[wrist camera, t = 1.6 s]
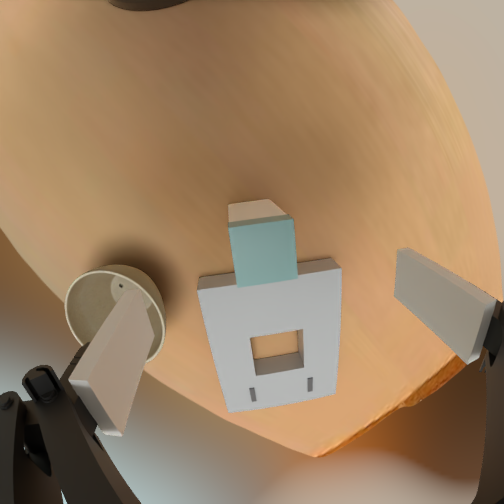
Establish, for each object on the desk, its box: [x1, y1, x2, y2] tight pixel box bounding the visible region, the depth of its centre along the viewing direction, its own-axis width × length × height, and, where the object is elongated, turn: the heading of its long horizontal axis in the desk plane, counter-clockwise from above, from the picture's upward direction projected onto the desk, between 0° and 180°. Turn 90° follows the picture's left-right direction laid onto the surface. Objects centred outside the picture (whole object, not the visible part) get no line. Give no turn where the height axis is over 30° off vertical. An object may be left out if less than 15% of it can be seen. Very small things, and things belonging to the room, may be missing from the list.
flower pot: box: [65, 265, 166, 364], centre depth 25 cm, size 10×10×7 cm
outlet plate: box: [197, 258, 342, 413], centre depth 31 cm, size 18×14×3 cm
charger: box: [228, 199, 298, 288], centre depth 23 cm, size 4×4×10 cm
